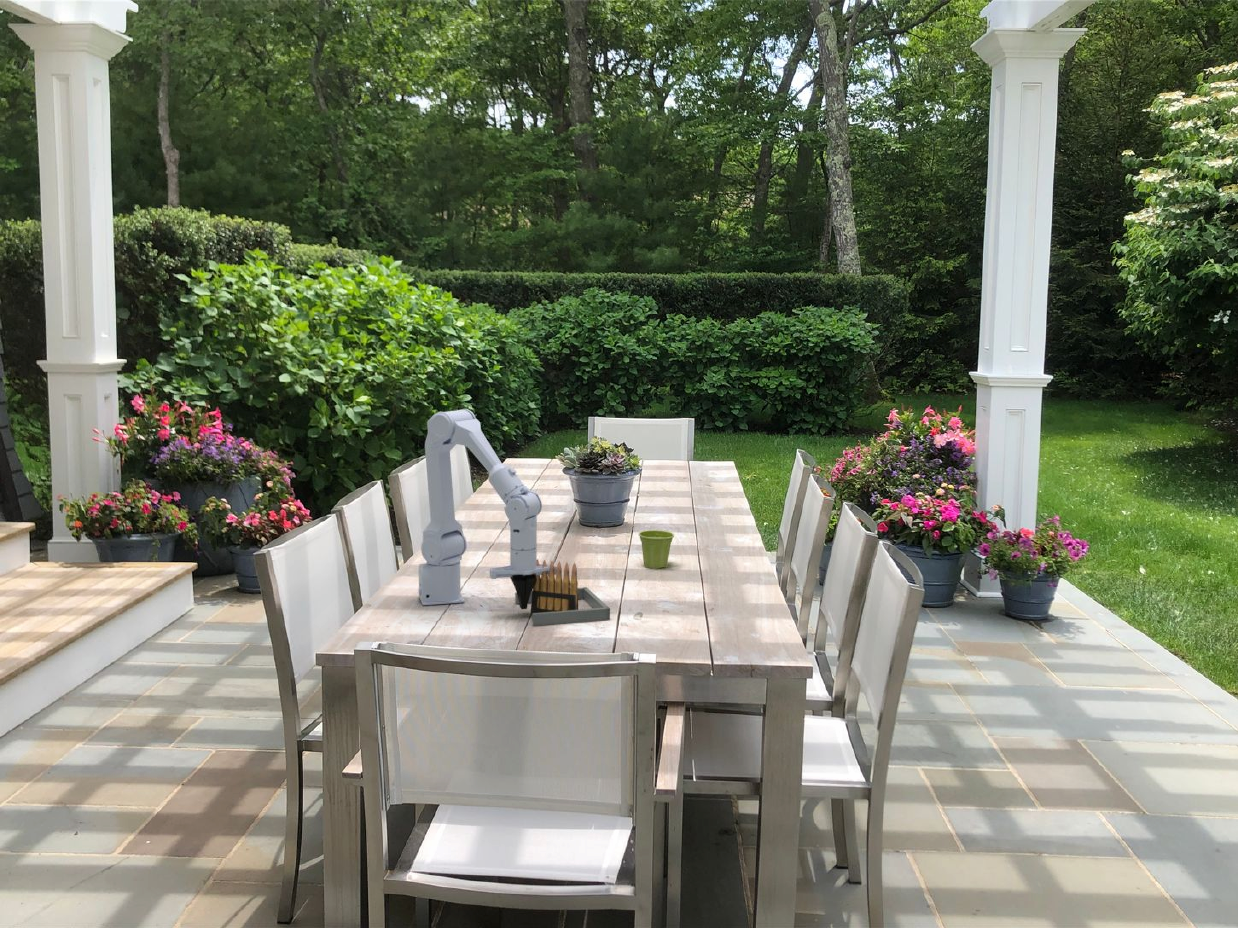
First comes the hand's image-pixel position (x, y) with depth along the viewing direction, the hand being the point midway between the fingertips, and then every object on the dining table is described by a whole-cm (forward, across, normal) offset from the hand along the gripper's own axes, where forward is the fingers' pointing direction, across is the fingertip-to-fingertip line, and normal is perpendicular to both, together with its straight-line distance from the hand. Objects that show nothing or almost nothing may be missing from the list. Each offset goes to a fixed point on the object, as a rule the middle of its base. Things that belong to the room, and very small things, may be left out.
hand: (523, 607), depth 228 cm
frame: (+1, +8, 0) cm, 8 cm away
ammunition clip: (+2, +6, -2) cm, 7 cm away
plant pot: (+2, +43, +33) cm, 54 cm away
